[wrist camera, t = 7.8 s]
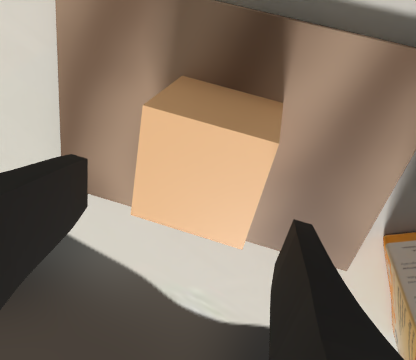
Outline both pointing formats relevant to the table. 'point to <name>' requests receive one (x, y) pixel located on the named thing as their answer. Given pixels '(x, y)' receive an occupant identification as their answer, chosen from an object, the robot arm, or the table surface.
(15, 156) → the table surface
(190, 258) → the table surface
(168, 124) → the orange cube
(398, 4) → the table surface
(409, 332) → the supplement box
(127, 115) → the walnut board
